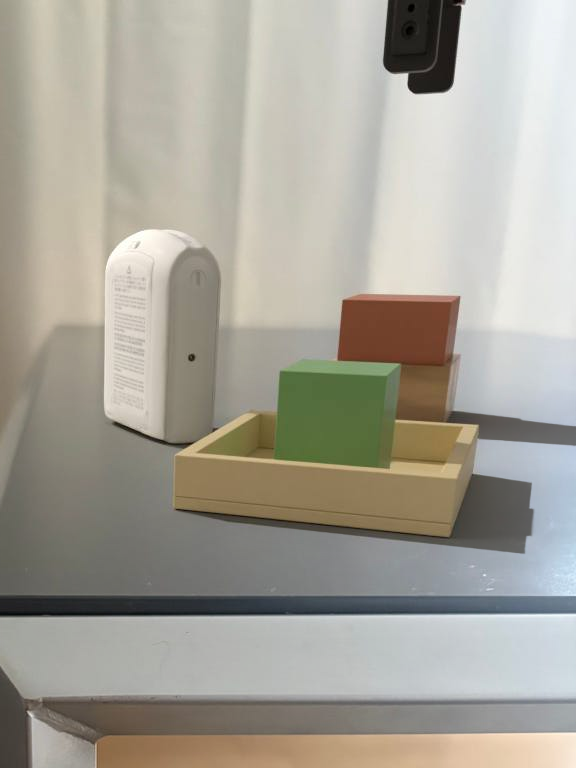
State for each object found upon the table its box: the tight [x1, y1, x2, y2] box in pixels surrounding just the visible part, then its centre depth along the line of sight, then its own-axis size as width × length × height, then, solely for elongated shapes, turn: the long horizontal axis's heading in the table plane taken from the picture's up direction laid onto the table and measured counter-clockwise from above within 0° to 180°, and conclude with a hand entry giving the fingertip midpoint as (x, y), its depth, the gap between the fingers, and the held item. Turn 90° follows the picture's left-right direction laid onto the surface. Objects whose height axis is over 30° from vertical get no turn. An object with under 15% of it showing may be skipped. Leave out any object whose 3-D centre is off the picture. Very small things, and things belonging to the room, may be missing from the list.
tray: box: [172, 409, 480, 538], centre depth 50 cm, size 14×13×3 cm
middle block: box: [336, 293, 462, 366], centre depth 69 cm, size 7×7×4 cm
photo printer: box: [103, 228, 222, 444], centre depth 64 cm, size 10×4×12 cm, turn 23°
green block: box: [274, 358, 401, 469], centre depth 50 cm, size 5×5×6 cm
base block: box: [331, 353, 462, 423], centre depth 71 cm, size 8×8×4 cm
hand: (420, 83), depth 47 cm, fingers open, 8 cm apart
